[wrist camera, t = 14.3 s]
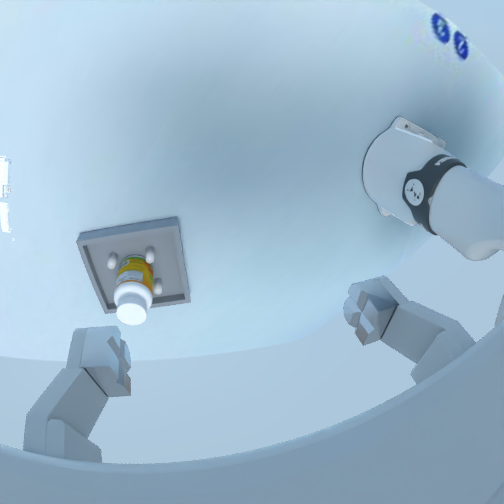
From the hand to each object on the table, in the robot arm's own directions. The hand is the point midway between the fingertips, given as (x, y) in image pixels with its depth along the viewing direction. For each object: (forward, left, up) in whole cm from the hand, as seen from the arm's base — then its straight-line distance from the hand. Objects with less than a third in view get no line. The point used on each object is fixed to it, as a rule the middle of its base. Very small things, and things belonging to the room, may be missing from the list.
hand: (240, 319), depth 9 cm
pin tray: (+10, +17, -29) cm, 35 cm away
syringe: (+31, +5, -30) cm, 43 cm away
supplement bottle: (+10, +17, -28) cm, 34 cm away
